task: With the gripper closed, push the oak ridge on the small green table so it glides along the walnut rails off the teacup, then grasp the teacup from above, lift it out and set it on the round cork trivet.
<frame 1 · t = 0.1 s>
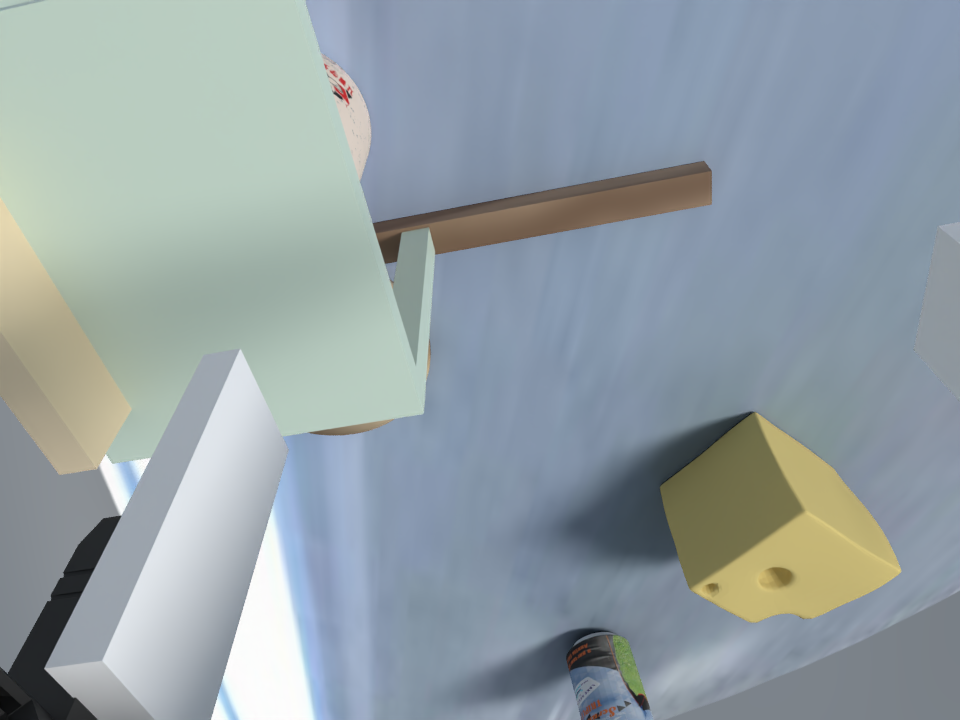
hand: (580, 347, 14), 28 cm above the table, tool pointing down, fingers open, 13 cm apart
cheese: (745, 473, 56), on the table
small green table: (220, 199, 30), point 11 cm above the table, slide at 0.0 cm
rails: (417, 90, 38), on the table
teacup with lid: (266, 120, 39), on the table
beverage can: (601, 641, 69), on the table
trivet: (325, 348, 48), on the table
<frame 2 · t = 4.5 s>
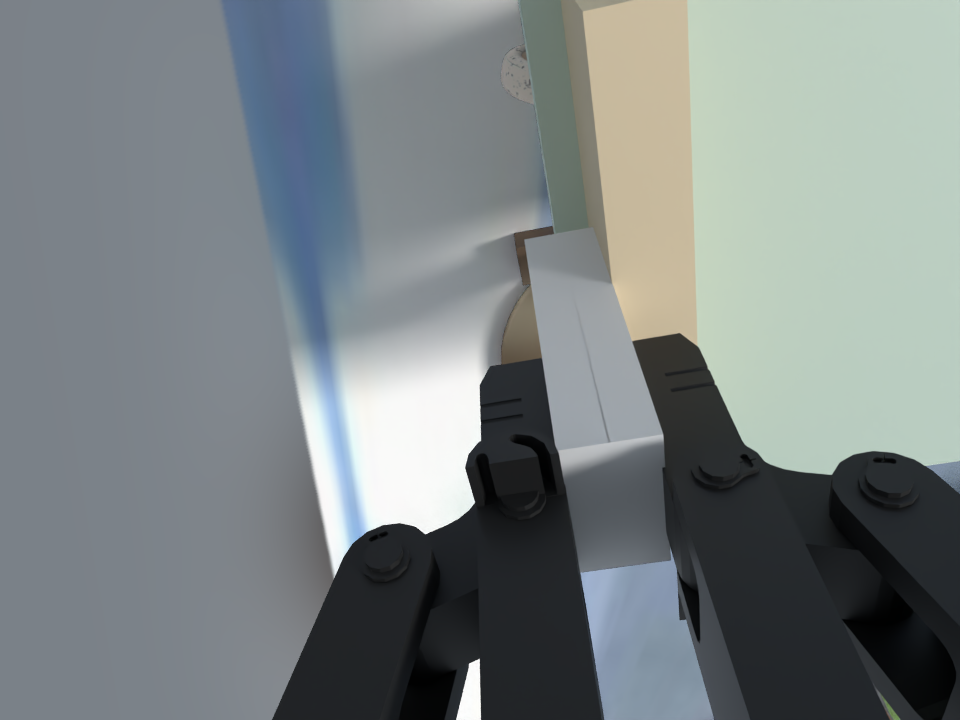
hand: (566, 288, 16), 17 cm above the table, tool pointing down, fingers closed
small green table: (781, 127, 21), point 11 cm above the table, slide at 1.4 cm, touching gripper
rails: (855, 7, 29), on the table
teacup with lid: (640, 51, 30), on the table
trivet: (632, 352, 38), on the table
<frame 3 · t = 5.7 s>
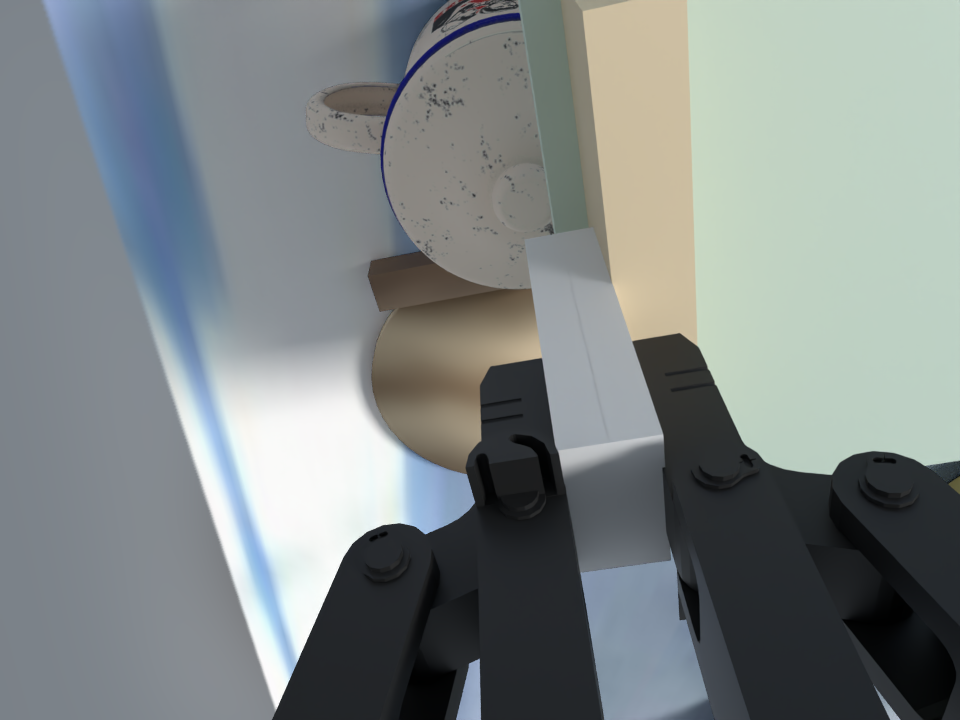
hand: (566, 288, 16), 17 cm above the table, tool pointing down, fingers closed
small green table: (781, 127, 21), point 11 cm above the table, slide at 8.4 cm, touching gripper
rails: (677, 45, 29), on the table
teacup with lid: (473, 87, 30), on the table
trivet: (502, 374, 39), on the table
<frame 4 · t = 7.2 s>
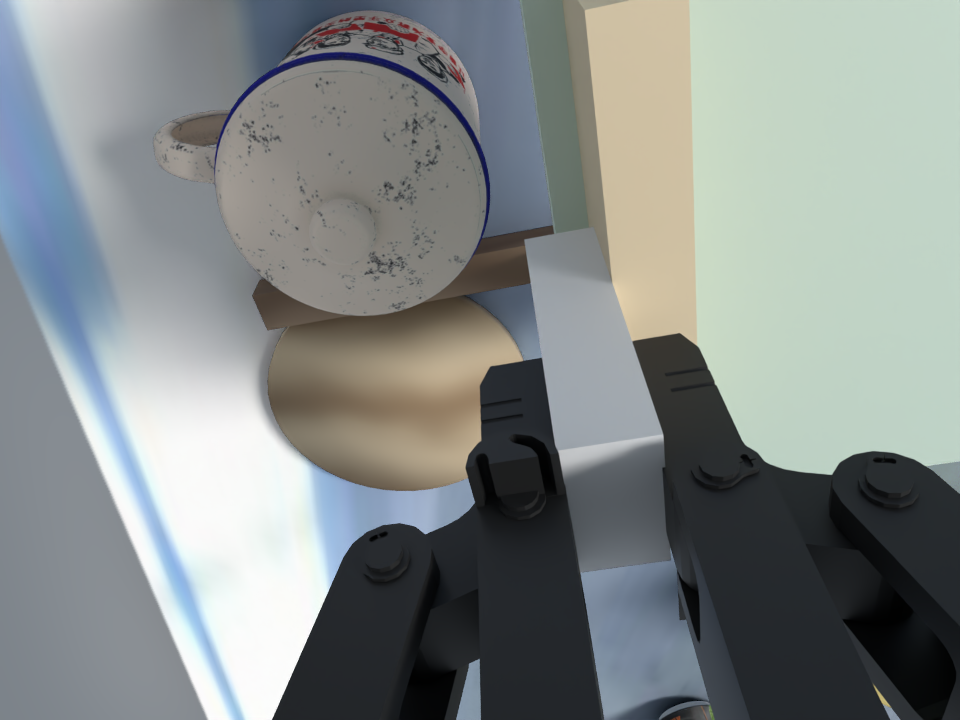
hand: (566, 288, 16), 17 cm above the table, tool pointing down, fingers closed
small green table: (781, 127, 21), point 11 cm above the table, slide at 14.0 cm, touching gripper
rails: (541, 74, 30), on the table
teacup with lid: (345, 113, 31), on the table
beverage can: (691, 709, 60), on the table
trivet: (400, 390, 40), on the table
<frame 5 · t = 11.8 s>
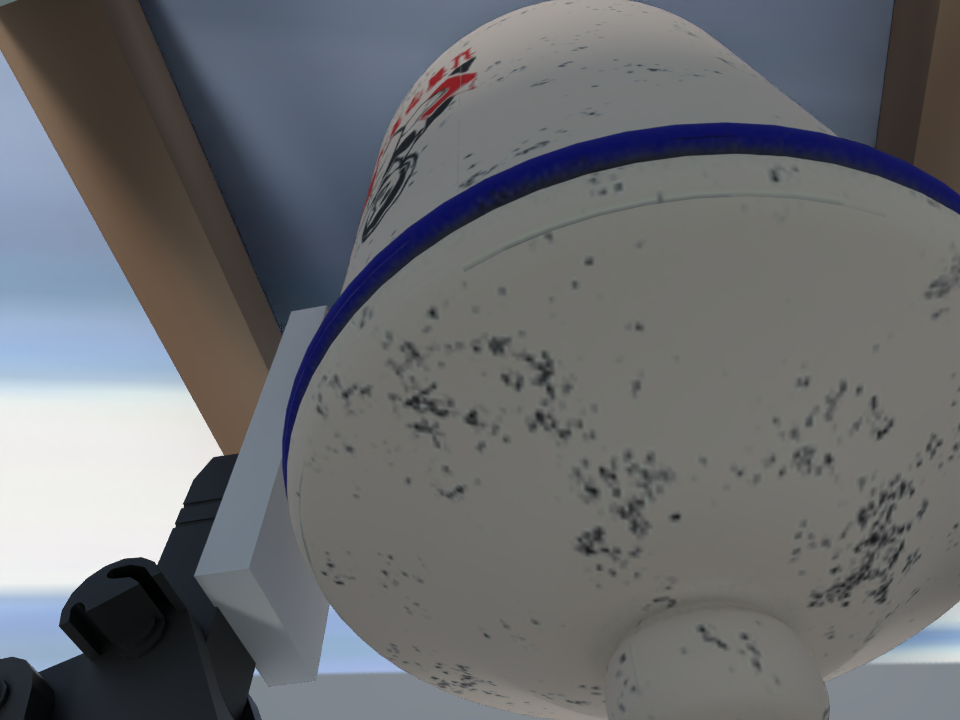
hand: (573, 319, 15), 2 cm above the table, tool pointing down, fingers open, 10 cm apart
teacup with lid: (558, 263, 17), on the table, touching gripper
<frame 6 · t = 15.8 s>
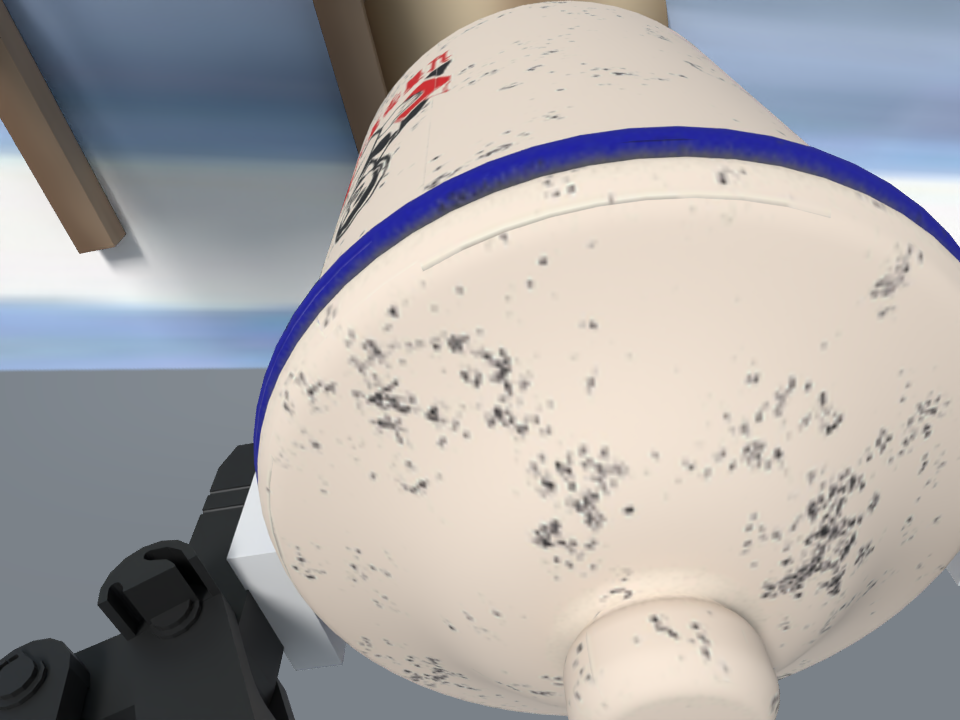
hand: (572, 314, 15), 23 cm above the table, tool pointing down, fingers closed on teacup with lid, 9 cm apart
teacup with lid: (539, 263, 17), point 20 cm above the table, touching gripper
trivet: (513, 52, 34), on the table
when the fingers open (4 cm above the table, at t = 19.6 s): teacup with lid drops 1 cm, resting on trivet.
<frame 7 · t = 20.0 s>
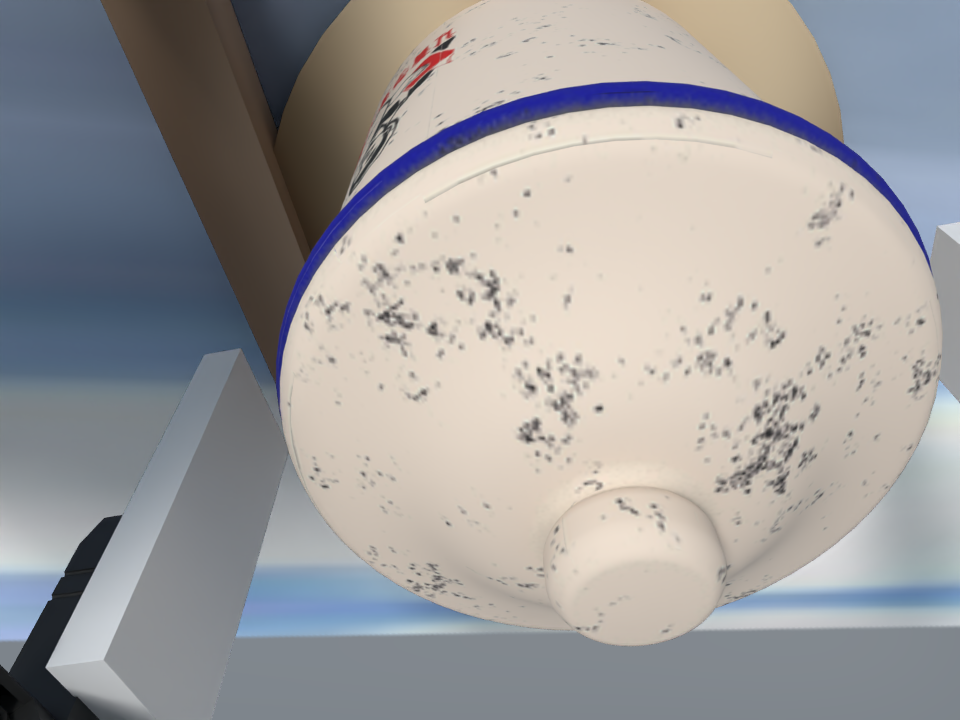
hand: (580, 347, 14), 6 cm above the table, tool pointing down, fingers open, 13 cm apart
teacup with lid: (538, 233, 18), point 1 cm above the table, touching trivet
trivet: (551, 222, 19), on the table
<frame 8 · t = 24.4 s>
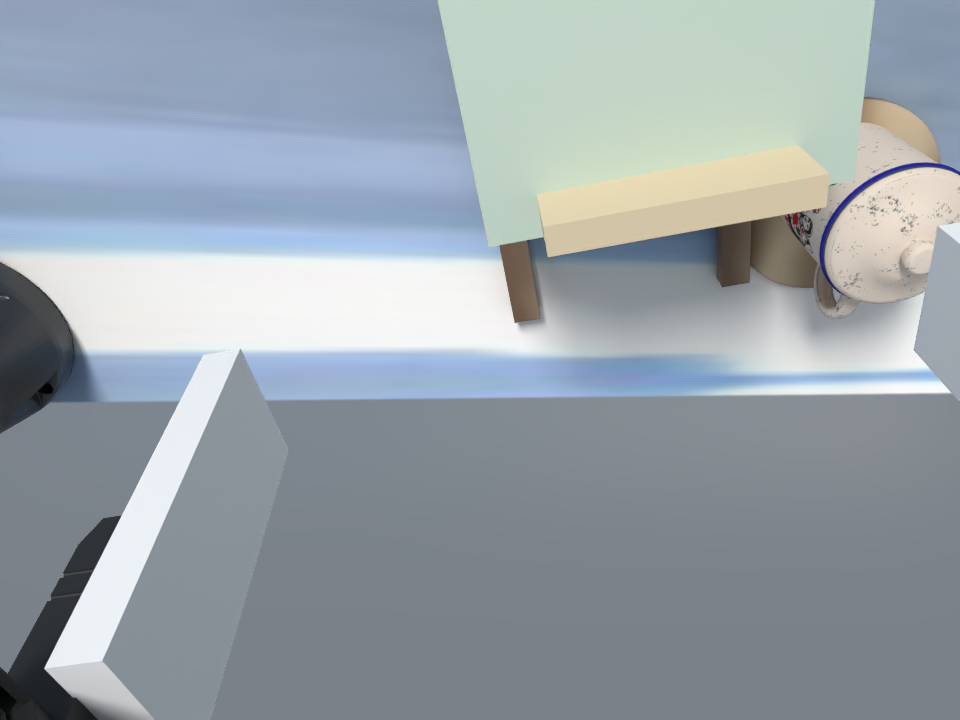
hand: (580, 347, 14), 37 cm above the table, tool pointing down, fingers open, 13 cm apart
small green table: (634, 35, 35), point 11 cm above the table, slide at 14.2 cm
rails: (609, 99, 47), on the table
teacup with lid: (828, 200, 51), point 1 cm above the table, touching trivet
trivet: (831, 197, 52), on the table
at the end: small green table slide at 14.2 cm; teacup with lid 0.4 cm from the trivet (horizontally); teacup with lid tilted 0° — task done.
